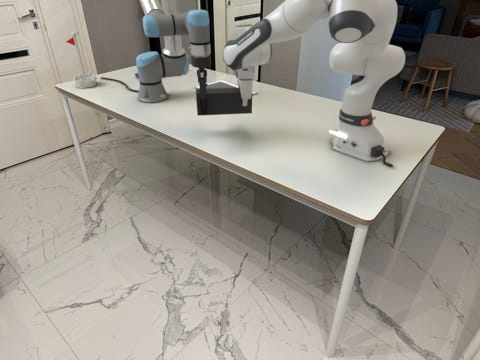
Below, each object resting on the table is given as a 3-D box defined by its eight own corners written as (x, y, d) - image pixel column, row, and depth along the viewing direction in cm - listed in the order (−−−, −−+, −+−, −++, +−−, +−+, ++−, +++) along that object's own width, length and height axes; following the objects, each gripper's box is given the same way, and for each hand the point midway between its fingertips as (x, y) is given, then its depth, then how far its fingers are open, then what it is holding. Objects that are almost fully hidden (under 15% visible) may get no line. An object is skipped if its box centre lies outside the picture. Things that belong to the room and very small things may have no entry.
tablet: (194, 87, 200) (194, 86, 200) (221, 80, 211) (221, 79, 211) (229, 101, 180) (229, 101, 180) (256, 93, 191) (256, 92, 191)
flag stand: (97, 80, 212) (85, 28, 195) (98, 86, 202) (85, 32, 185) (75, 83, 208) (61, 30, 191) (74, 89, 198) (59, 34, 181)
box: (250, 107, 147) (250, 87, 142) (251, 113, 142) (252, 91, 137) (197, 109, 145) (196, 88, 140) (197, 115, 140) (195, 94, 135)
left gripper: (191, 48, 140) (195, 98, 151) (190, 64, 119) (194, 120, 131) (209, 47, 140) (212, 97, 152) (211, 63, 120) (214, 119, 131)
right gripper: (233, 62, 143) (234, 94, 150) (238, 76, 126) (238, 111, 133) (248, 61, 143) (248, 93, 151) (255, 75, 126) (254, 110, 134)
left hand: (204, 108), depth 141 cm, fingers open, 13 cm apart
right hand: (243, 102), depth 142 cm, fingers closed on box, 6 cm apart
